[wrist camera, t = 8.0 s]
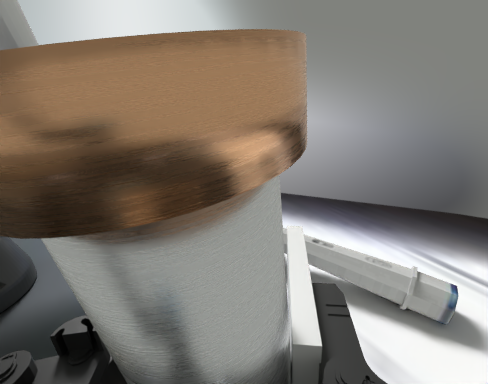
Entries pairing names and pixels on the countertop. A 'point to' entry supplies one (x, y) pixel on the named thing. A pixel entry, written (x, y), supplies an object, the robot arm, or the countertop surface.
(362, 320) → the countertop surface
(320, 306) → the robot arm
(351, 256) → the toothbrush head
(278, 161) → the steel plug
